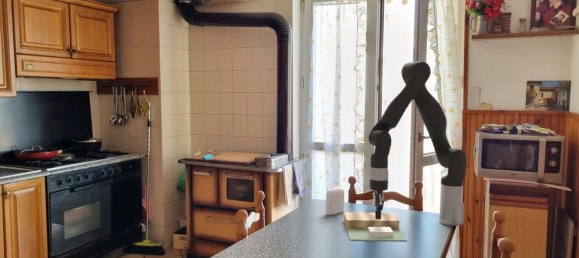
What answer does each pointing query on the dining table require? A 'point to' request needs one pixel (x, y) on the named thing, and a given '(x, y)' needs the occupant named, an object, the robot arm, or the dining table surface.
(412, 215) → the dining table surface
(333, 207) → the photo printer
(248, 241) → the dining table surface
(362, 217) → the board
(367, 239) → the sage mat
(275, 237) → the dining table surface
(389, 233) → the cream tile
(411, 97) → the robot arm
